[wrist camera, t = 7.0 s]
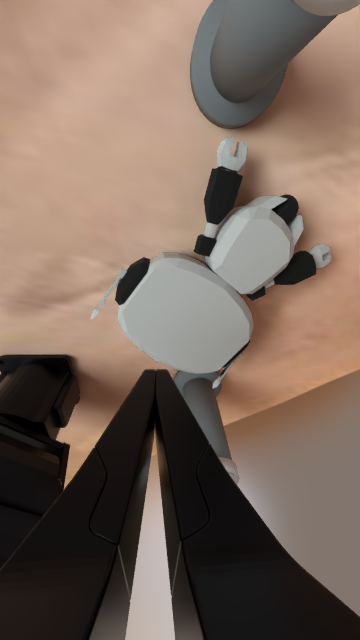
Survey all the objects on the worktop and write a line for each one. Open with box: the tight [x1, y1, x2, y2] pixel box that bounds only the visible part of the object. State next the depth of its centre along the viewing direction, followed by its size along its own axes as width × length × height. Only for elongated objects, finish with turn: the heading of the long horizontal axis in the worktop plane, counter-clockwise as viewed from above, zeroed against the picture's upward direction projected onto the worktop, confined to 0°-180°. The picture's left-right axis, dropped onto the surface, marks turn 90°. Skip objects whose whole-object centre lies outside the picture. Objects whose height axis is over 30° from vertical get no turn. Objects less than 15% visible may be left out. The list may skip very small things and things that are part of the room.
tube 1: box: [174, 370, 239, 484], centre depth 21 cm, size 5×5×10 cm
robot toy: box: [91, 137, 332, 389], centre depth 17 cm, size 12×4×15 cm
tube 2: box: [190, 0, 360, 128], centre depth 8 cm, size 5×5×10 cm
